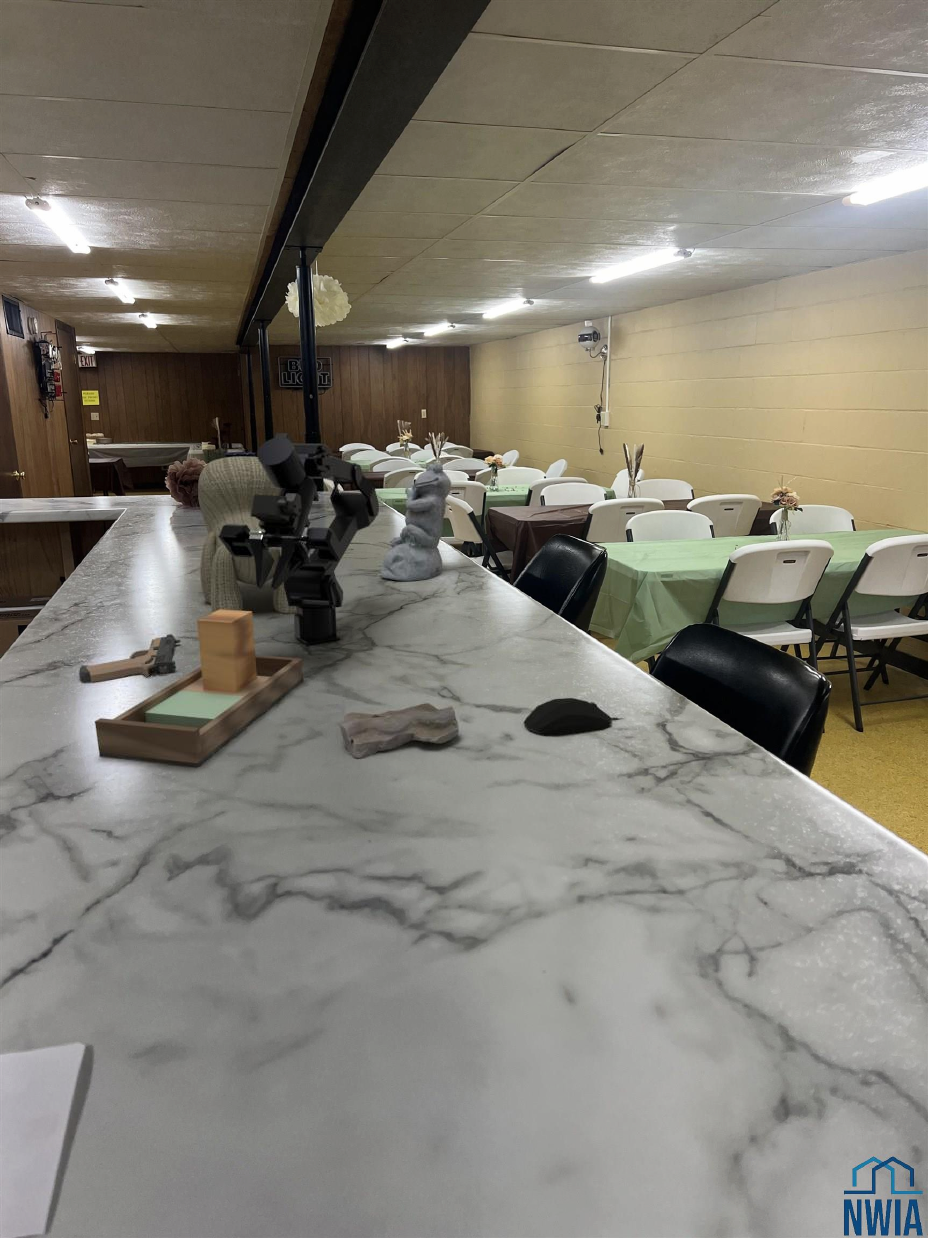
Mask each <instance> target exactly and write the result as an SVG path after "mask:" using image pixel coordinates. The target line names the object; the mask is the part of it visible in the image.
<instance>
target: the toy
mask: <svg viewBox="0 0 928 1238" xmlns="http://www.w3.org/2000/svg"><path fill="white" fill-rule="evenodd" d="M197 485H198V487H197V488H198V489H197V490H198V492H197V495H198V498H197V499H198V503H199V507H200V510H201V514H202V518H203V521H204V523H205V527H206V530H207V533H208V535H207V536H206V538H205V540H204V543H203V546H202V550H201V551H202V552H201V555H200V556H201V557H200V570H199V571H200V585H201V589H202V590H201V591H202V595H203V597H204V600H205V601H206V602H207V603H208V604H210V603H211V604H210V606H211V607H210V608H211V613H213V612H215V611H217V610H220V609H222V610H237V611H244V610H243V609H244V607H243V602H244V601H243V595H242V592H241V589H240V585H239V583H242V584H246V585H253V586H254V585H256V586H257V584H256V569H255V559H254V556H252V557H250V558H248V557H235V556H233V555H231V554H230V552H229V551H228V549H227V548H226V547H225V545H224V544H223V543H222V541H221V540H220V538H219V537H218V536H219V533H220V531H221V528H222V527H223V525H226V524H237V525H247V526H248V527H249V529H250V531H262V532H264V533H265V530H264V529H261V528H260V526H259V525H258V524H259V521H260V520H259V519H257V518H256V517H252V516H251V509H252V501H253V496H254V495H277V494H278V491H279V487H276V486H274V485H273V484H272V483H271V481H270V479H269V477H268V476H267V474H266V472H265V470H264V468H263V467H262V465H261V463H260V461H259V459H258V457H257V456H240V455H239V456H229V457H228V456H227V457H222V458H218V459H213V460H212V461H210V462H209V463H207V464H206V465H205V466H204V467H203V468H202V471H201V472H200V475H199V477H198V483H197ZM270 554H271V556H272V557H273V559H274V560H275V561H274V564H273V566H272V568H271V570H270V573H269V575H268V577H267V580H266V582H268V581H270V580H273V576H274V573H275V570H276V568H277V565H278V562H279V559H280V556H281V549H280V548H271V550H270ZM272 604H273V607H274V610H275V611H276V612H278V613H281V614H285V615H286V614H287V613H288V614H297V611H296V606H292V607H290V606H289V605H288V601H287V597H286V593H285V589H284V582H283V583H282V584H281V585H280V586H279V587H278V588H277V589H276V590H273V589H272Z"/></svg>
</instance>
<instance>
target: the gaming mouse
mask: <svg viewBox="0 0 928 1238" xmlns="http://www.w3.org/2000/svg"><path fill="white" fill-rule="evenodd" d="M625 719H626V718H618V717H611V716H610V715H609V714H608V713H606V712H604V711H603V710H602V709H601V708H600V707H598V704H596V702H593V701H591V702H589V701H587V700H583V699H580V698H579V699H578V698H573V697H565V698H554V699H551V700H548V701H545V702H544V703H542V704H538V705H537V706H536V707H534V709H533V710H532V711H531V712H530V713H529V714H528V715H527V716H526V718H525V719H524V721H523V725H524V727H526V729H527V731H530V732H533V733H536V734H540V735H543V736H545V737H563V736H569V735H571V736H572V735H576V734H584V733H591V732H598V731H604V730H606V729H608V728H610V727H611V724H612V722H613V721H615V722H616V721H619V720H625Z"/></svg>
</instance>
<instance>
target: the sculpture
mask: <svg viewBox="0 0 928 1238" xmlns="http://www.w3.org/2000/svg"><path fill="white" fill-rule="evenodd" d="M410 488H411V490H410V489H409V487H406V488H405V489H404V493H405V494H406V498H407V499H406V501H405V508H406V509H407V510H406V512H405V516H404V517H405V519H404V522H405V526H404V527H403V528H402V529H401V532H400V533H399V536H397V537H393V538H392V539H390V540H389V544H390V547H391V549H390V550H389V551H388V552H387V553H386V555H385V558H384V559H383V562H382V565H381V567H380V568H379V573H380V577H381V578H382V579H387V580H395V581H406V582H407V581H412V582H413V581H420V580H421V581H423V580H428V579H431V578H433V577H435V576H437V575H439V574H440V573H442V570H443V566H444V564H443V560H442V555H441V553H440V550H439V548H438V546H439V545H440V544H439V543H440V540H441V537H442V534H443V521H444V517H445V515H446V506H447V503H446V499H447V497H448V496H449V494H450V492H451V489H452V481H451V479H450V477H449V476H448V475H447V473H446V472H445V471H444V467H443V465H442V463H441V462H438V461H435V462H434V464H432V463H429V464H427V467H426V468H425V471H423V472H422V473H420V474H419V475H418V476H417V477H416V480H415V482H414V484H411V486H410Z"/></svg>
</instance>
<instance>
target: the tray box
mask: <svg viewBox="0 0 928 1238" xmlns="http://www.w3.org/2000/svg"><path fill="white" fill-rule="evenodd" d="M255 658H256V672H257V678H256V679H255V680H254V681H252V682H251V683H250V684H248V685H247V686H245V687H244V688H243V689H241V690H240V691H238V692H237V693H233V692H222V691H211V690H203V679H202V668H201V666H199V667H197V668H196V669H194V670H192V671H191V672H189V673H188V674H186V675H184V676H183V677H181V678H179V679H178V680H176V681H174V682H173V683H171V684H169V685H168V686H166V687H164V688H162V689H161V690H159V691H157V692H155V693H154V694H152V695H151V696H149V697H147V698H146V699H144V700H143V701H141V702H139V703H137V704H135V705H134V706H133V707H131V708H130V709H127V710H125V711H124V712H123V713H121V714H119V715H117V716H115V717H114V718H104V717H103V718H102V717H100V718H98V719H96V720H95V721H94V724H95V733H96V740H97V746H98V753H99V757H103V758H113V759H119V760H120V759H122V760H130V761H131V760H132V761H138V762H139V761H140V762H148V763H149V762H150V763H156V762H157V763H158V764H167V765H174V764H176V765H177V766H183V765H184V767H185V766H186V767H192V766H193V767H194V768H199V767H200V766H201V765H203V764H204V763H205V762H206V761H207V760H208V759H210V758H211V757H212V756H213V755H214V754H215V753H214V752H216V751H217V750H218V751H219V750H220V749H219V748H221V747H222V746H223V747H224V746H226V745H227V744H228V743H229V742H230V741H231V740H233V739H234V738H235V737H237V736H238V735H239V734H240V733H241V732H242V731H244V730H245V729H246V728H247V727H249V726H250V725H251V724H252V723H253V722H255V721H256V720H258V718H259V717H261V716H262V715H263V714H265V713H266V712H267V711H268V710H270V709H271V707H273V706H274V705H275V704H276V703H278V702H280V700H282V698H284V697H285V696H287V695H288V694H289V693H290V692H291V691H292V690H294V689H295V688H296V687H297V686H299V684H301V683H302V682H303V681H304V666H303V664H304V663H303V658H300V657H299V658H298V657H287V656H274V655H260V654H255ZM179 691H189V692H200V693H212V694H223V695H234V696H244V697H243V698H242V699H240V700H239V701H238V702H236V703H235V704H233V705H232V706H231V707H229V708H228V709H227V710H225V711H224V712H223V713H221V714H220V715H219V716H217V717H216V718H215V719H213V720H212V721H210V722H209V723H208V724H206V725H205V726H204V727H202V728H201V729H200V730H199V728H194V727H184V726H174V725H164V724H154V723H146V716H145V712H147V711H148V710H150V709H151V708H153V707H155V706H156V705H158V704H159V703H161V702H163V701H164V700H166V699H167V698H169V697H171V696H172V695H174V694H175V693H177V692H179ZM237 734H238V735H237ZM223 747H222V748H223ZM222 748H221V749H222ZM218 751H217V752H218ZM217 752H216V753H217ZM213 753H214V754H213ZM212 754H213V755H212ZM211 755H212V756H211ZM210 756H211V757H210ZM209 757H210V758H209ZM206 759H207V760H206ZM205 760H206V761H205ZM204 761H205V762H204ZM203 762H204V763H203Z"/></svg>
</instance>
